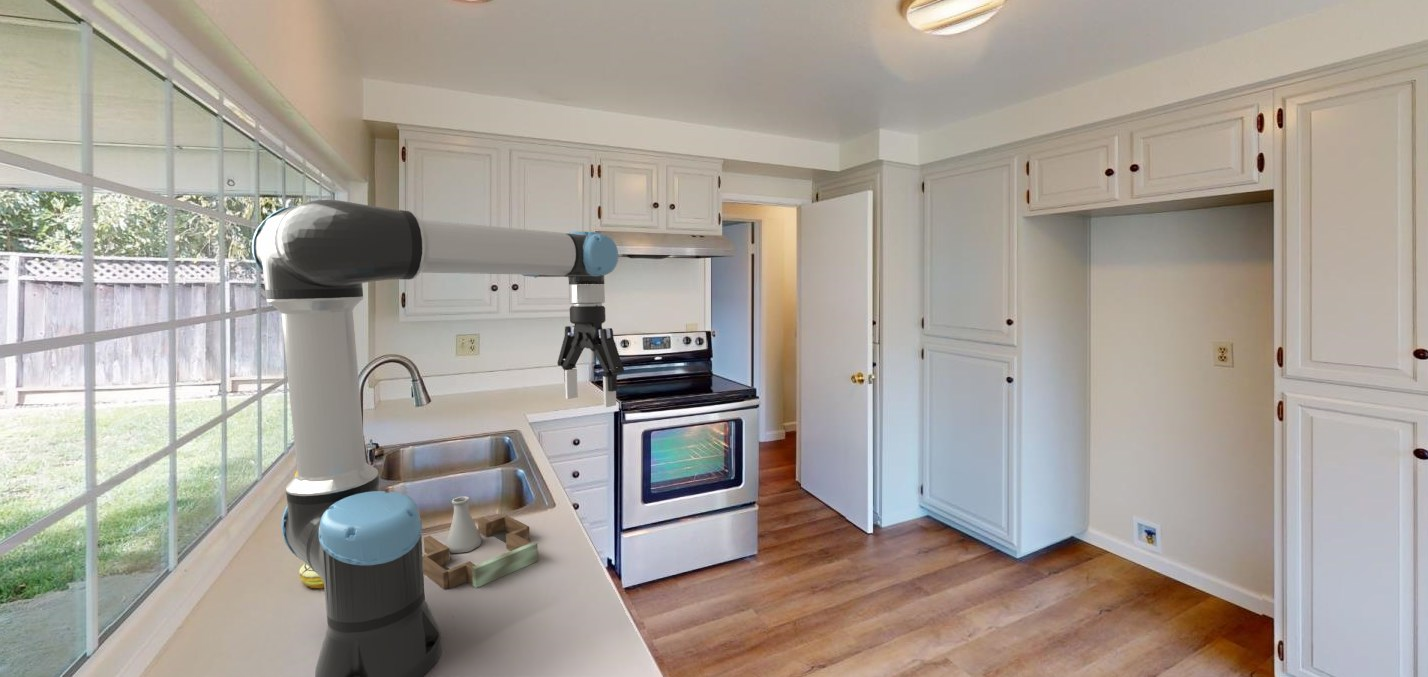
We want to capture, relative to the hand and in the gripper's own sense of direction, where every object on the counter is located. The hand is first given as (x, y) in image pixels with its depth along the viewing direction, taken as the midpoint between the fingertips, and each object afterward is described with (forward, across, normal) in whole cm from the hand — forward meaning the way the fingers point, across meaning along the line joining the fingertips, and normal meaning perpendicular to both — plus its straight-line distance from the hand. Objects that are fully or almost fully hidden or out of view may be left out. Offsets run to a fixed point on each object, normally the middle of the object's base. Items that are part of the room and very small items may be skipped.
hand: (590, 402), depth 121 cm
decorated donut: (+28, +19, +44) cm, 56 cm away
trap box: (+28, +5, +24) cm, 37 cm away
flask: (+28, +12, +24) cm, 39 cm away
